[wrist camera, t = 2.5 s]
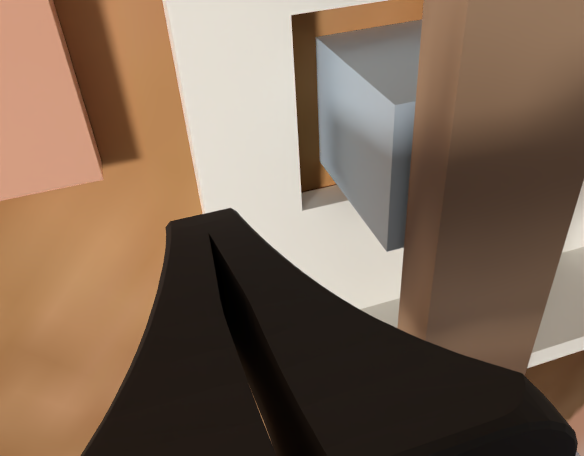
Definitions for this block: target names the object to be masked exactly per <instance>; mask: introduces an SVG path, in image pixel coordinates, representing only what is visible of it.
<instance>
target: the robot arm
mask: <svg viewBox="0 0 584 456" xmlns="http://www.w3.org/2000/svg"><path fill="white" fill-rule="evenodd" d="M249 386H250V387H249ZM251 391H252V392H251ZM252 393H253V395H252ZM253 396H254V397H253ZM254 398H255V400H254ZM255 401H256V402H255ZM256 403H257V405H256ZM257 406H258V408H259V410H260V413H261V415H262V418H263V420H264V423H265V425H266V428H267V431H268V433H267V431H266V428H265V426H264V423H263V421H262V418H261V416H260V413H259V410H258V408H257ZM268 434H269V436H270V438H269V436H268ZM270 439H271V441H270ZM271 442H272V443H271ZM577 444H578V443H577V439H576V434H575V431H574V430H573V429H572V428H571V426H570V425H569V424H568V423H567V422H566V420H565V419H564V418H563V417H562V416H561V414H560V413H559V412H558V411H557V409H556V408H555V407H554V406H553V405H552V404H551V402H550V401H549V400H548V399H547V398H546V397H545V396H544V395H543V394H542V393H541V392H540V391H539V390H538V389H537V388H536V387H535V386H534V385H533V384H532V383H531V382H530V381H529V380H528V379H527V378H526V377H525V376H524V375H523V374H522V373H520V372H517V371H513V370H510V369H507V368H504V367H501V366H497V365H494V364H491V363H488V362H484V361H481V360H478V359H475V358H471V357H468V356H465V355H462V354H459V353H456V352H454V351H451V350H448V349H446V348H443V347H441V346H438V345H435V344H433V343H430V342H427V341H425V340H422V339H420V338H418V337H415V336H413V335H411V334H409V333H406V332H404V331H402V330H400V329H398V328H396V327H394V326H392V325H390V324H387V323H385V322H383V321H381V320H379V319H377V318H375V317H373V316H371V315H369V314H367V313H366V312H364V311H362V310H360V309H358V308H357V307H355V306H353V305H352V304H350V303H348V302H347V301H345V300H343V299H342V298H340V297H338V296H337V295H335V294H334V293H332V292H331V291H329V290H328V289H326V288H325V287H323V286H322V285H320V284H319V283H317V282H316V281H315V280H313V279H312V278H311V277H309V276H308V275H306V274H305V273H304V272H302V271H301V270H300V269H299V268H297V267H296V266H295V265H293V264H292V263H291V262H290V261H289V260H287V259H286V258H285V257H284V256H283V255H281V254H280V253H279V252H278V251H277V250H275V249H274V248H273V247H272V246H271V245H270V244H269V243H268V242H266V241H265V240H264V239H263V238H262V237H261V236H260V235H259V234H258V233H257V232H256V231H255V230H254V229H253V228H252V227H251V226H250V225H249V224H248V223H247V222H246V221H245V220H244V219H243V218H242V217H241V216H240V215H239V213H238V212H237V211H235V210H234V209H232V208H227V209H223V210H218V211H214V212H210V213H205V214H201V215H196V216H192V217H188V218H183V219H179V220H174V221H170V222H169V224H168V225H167V226H166V249H165V256H164V263H163V268H162V272H161V277H160V281H159V286H158V290H157V294H156V297H155V301H154V304H153V307H152V310H151V313H150V316H149V320H148V323H147V326H146V329H145V331H144V334H143V337H142V339H141V342H140V345H139V347H138V349H137V352H136V354H135V356H134V359H133V361H132V363H131V366H130V368H129V370H128V372H127V374H126V376H125V378H124V380H123V382H122V384H121V386H120V388H119V390H118V392H117V394H116V396H115V398H114V400H113V402H112V404H111V406H110V408H109V410H108V412H107V413H106V415H105V417H104V419H103V420H102V422H101V424H100V425H99V427H98V429H97V430H96V432H95V433H94V435H93V437H92V438H91V440H90V442H89V443H88V445H87V446H86V448H85V450H84V451H83V453H82V454H81V456H580V455H579V453H578V452H577ZM272 445H273V446H272Z"/></svg>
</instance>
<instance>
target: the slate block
mask: <svg viewBox="0 0 584 456" xmlns="http://www.w3.org/2000/svg"><path fill="white" fill-rule="evenodd" d="M421 29H422V20H416V21H410V22H404V23H398V24H392V25H386V26H380V27H373V28H367V29H361V30H355V31H349V32H343V33H337V34H331V35H325V36H319V37H316V62H317V92H318V123H319V153H320V162H321V164H322V165H323V167H324V168H325V169H326V171H327V172H328V173H329V175H330V176H331V177H332V179H333V180H334V181H335V183H336V184H337V185H338V187H339V188H340V189H341V191H342V192H343V194H344V195H345V196H346V198H347V199H348V200H349V202H350V203H351V204H352V206H353V207H354V208H355V210H356V211H357V212H358V214H359V215H360V216H361V218H362V219H363V221H364V222H365V223H366V225H367V226H368V227H369V229H370V230H371V231H372V233H373V234H374V235H375V237H376V238H377V239H378V241H379V242H380V243H381V245H382V246H383V248H384V249H385V250H386V252H388V251H392V250H396V249H400V248H404V240H405V228H406V215H407V203H408V190H409V178H410V165H411V153H412V141H413V128H414V116H415V103H416V91H417V78H418V66H419V54H420V41H421Z"/></svg>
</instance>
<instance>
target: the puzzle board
mask: <svg viewBox="0 0 584 456" xmlns="http://www.w3.org/2000/svg"><path fill="white" fill-rule="evenodd" d="M162 1H163V6H164V12H165V17H166V22H167V28H168V33H169V38H170V43H171V49H172V54H173V59H174V65H175V70H176V75H177V81H178V86H179V91H180V96H181V102H182V107H183V112H184V118H185V123H186V128H187V134H188V139H189V144H190V149H191V155H192V160H193V165H194V171H195V176H196V181H197V186H198V192H199V197H200V202H201V208H202V213H203V214H205V213H210V212H214V211H218V210H223V209H227V208H232V209H234V210H235V211H237V212H238V213H239V215H240V216H241V217H242V218H243V219H244V220H245V221H246V222H247V223H248V224H249V225H250V226H251V227H252V228H253V229H254V230H255V231H256V232H257V233H258V234H259V235H260V236H261V237H262V238H263V239H264V240H265V241H266V242H268V243H269V244H270V245H271V246H272V247H273V248H274V249H275V250H277V251H278V252H279V253H280V254H281V255H283V256H284V257H285V258H286V259H287V260H289V261H290V262H291V263H292V264H293V265H295V266H296V267H297V268H299V269H300V270H301V271H302V272H304V273H305V274H306V275H308V276H309V277H311V278H312V279H313V280H315V281H316V282H317V283H319V284H320V285H322V286H323V287H325V288H326V289H328V290H329V291H331V292H332V293H334V294H335V295H337V296H338V297H340V298H342V299H343V300H345V301H347V302H348V303H350V304H352V305H353V306H355V307H357V308H358V309H360V310H362V311H364V312H366V313H367V314H369V315H371V316H373V317H375V318H377V319H379V320H381V321H383V322H385V323H387V324H390V325H392V326H394V327H396V328H397V327H398V315H399V302H400V290H401V277H402V265H403V252H404V248H400V249H396V250H392V251H388V252H386V250H385V249H384V248H383V246H382V245H381V243H380V242H379V241H378V239H377V238H376V237H375V235H374V234H373V233H372V231H371V230H370V229H369V227H368V226H367V225H366V223H365V222H364V221H363V219H362V218H361V216H360V215H359V214H358V212H357V211H356V210H355V208H354V207H353V206H352V204H351V203H350V202H349V200H348V199H347V198H346V196H345V195H344V194H343V192H342V191H341V189H340V188H339V187H338V185H333V186H329V187H325V188H320V189H316V190H311V191H307V192H302V193H301V180H300V162H299V145H298V127H297V110H296V92H295V74H294V57H293V39H292V22H291V15H295V14H302V13H308V12H315V11H321V10H328V9H334V8H341V7H347V6H354V5H360V4H367V3H373V2H380V1H386V0H162ZM582 350H584V181H583V184H582V187H581V191H580V194H579V197H578V201H577V204H576V207H575V211H574V214H573V217H572V220H571V224H570V227H569V230H568V234H567V237H566V240H565V244H564V247H563V250H562V254H561V257H560V260H559V264H558V267H557V270H556V274H555V277H554V280H553V284H552V287H551V290H550V294H549V297H548V300H547V304H546V307H545V310H544V314H543V317H542V320H541V324H540V327H539V330H538V334H537V337H536V340H535V343H534V347H533V350H532V353H531V357H530V360H529V363H528V367H527V368H530V367H533V366H536V365H539V364H542V363H545V362H548V361H551V360H554V359H557V358H560V357H563V356H566V355H569V354H573V353H576V352H579V351H582Z"/></svg>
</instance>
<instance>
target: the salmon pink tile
mask: <svg viewBox="0 0 584 456" xmlns="http://www.w3.org/2000/svg"><path fill="white" fill-rule="evenodd" d="M100 180H103V171H102V162H101V158H100V155H99V152H98V148H97V145H96V142H95V138H94V135H93V132H92V128H91V125H90V122H89V118H88V115H87V112H86V109H85V105H84V102H83V99H82V95H81V92H80V89H79V85H78V82H77V79H76V75H75V72H74V69H73V65H72V62H71V59H70V55H69V52H68V49H67V45H66V42H65V39H64V36H63V32H62V29H61V26H60V22H59V19H58V16H57V12H56V9H55V6H54V2H53V0H0V201H2V200H7V199H12V198H16V197H21V196H26V195H31V194H36V193H41V192H46V191H51V190H56V189H60V188H65V187H70V186H75V185H80V184H85V183H90V182H95V181H100Z"/></svg>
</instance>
